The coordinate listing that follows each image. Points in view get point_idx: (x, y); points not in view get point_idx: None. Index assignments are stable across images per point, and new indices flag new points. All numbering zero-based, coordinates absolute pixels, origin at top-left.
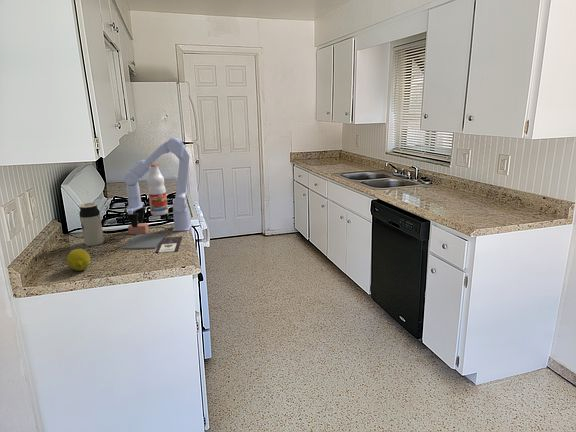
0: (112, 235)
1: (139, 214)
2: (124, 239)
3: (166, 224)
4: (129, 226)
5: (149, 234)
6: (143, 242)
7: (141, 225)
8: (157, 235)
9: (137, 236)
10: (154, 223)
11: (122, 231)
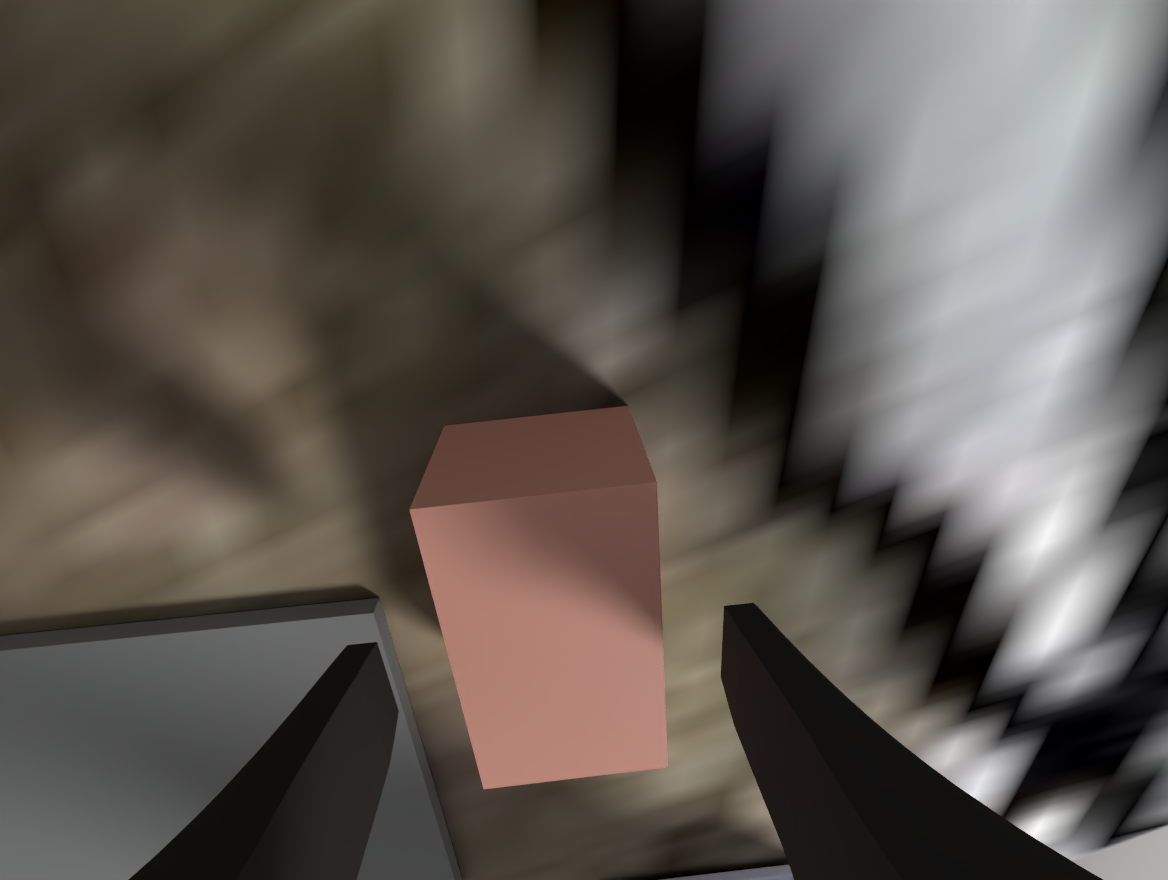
0: (298, 68)
1: (817, 848)
2: (138, 482)
3: (908, 744)
4: (423, 539)
5: (397, 761)
6: (58, 817)
7: (515, 729)
8: (372, 848)
9: (273, 657)
10: (1023, 585)
11: (613, 191)
